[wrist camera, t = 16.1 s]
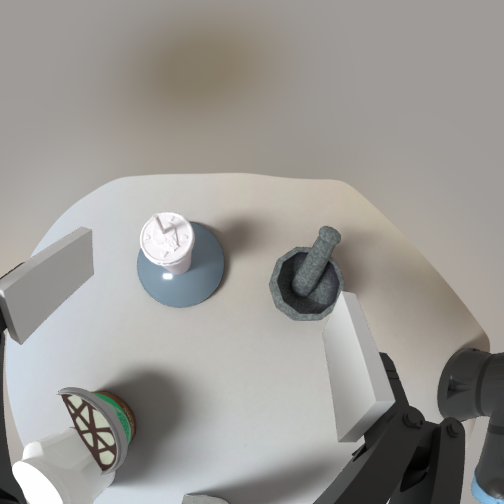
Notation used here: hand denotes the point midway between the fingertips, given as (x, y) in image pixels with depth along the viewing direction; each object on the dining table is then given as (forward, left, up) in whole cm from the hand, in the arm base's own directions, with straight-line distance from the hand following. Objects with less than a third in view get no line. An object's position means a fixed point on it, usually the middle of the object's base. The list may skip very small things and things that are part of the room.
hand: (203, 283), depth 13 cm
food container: (+20, +4, -27) cm, 33 cm away
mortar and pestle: (-13, +2, -27) cm, 30 cm away
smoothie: (0, -11, -25) cm, 27 cm away
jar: (+32, +8, -27) cm, 42 cm away
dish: (0, -11, -26) cm, 28 cm away
